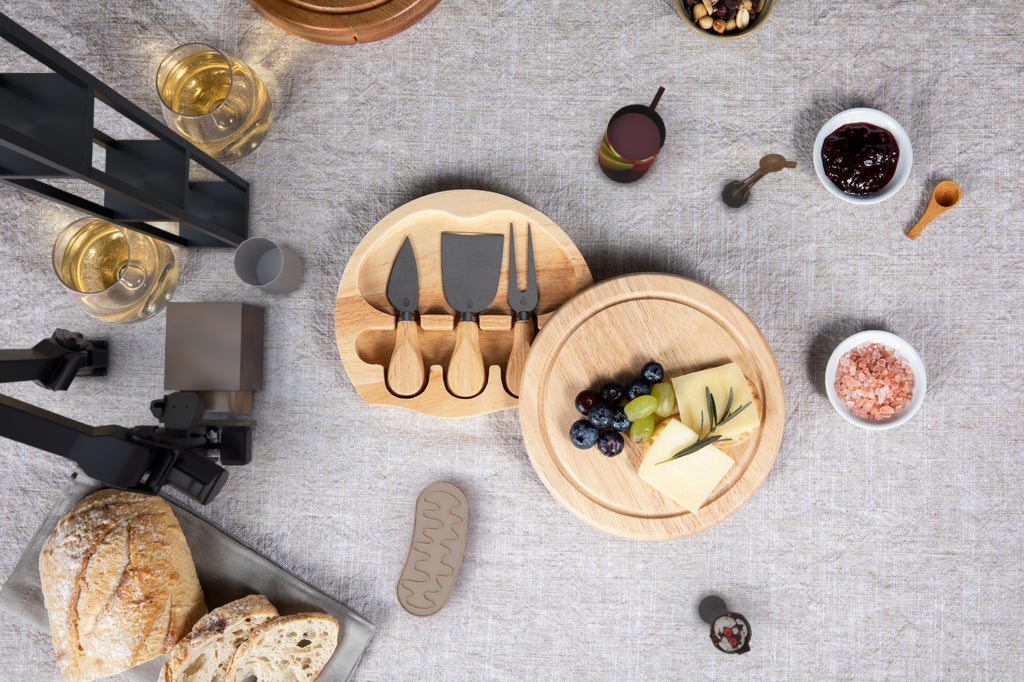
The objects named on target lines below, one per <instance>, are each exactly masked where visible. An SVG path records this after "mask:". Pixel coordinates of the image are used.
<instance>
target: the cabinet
mask: <svg viewBox="0 0 1024 682" xmlns="http://www.w3.org/2000/svg"><path fill="white" fill-rule="evenodd" d="M165 307H166V311H165V341H164V342H165V343H164V348H165V349H164V372H163V374H164V375H163V376H164V377H163V391H175V390H185V391H246V390H252V391H259V390H263V384H264V383H263V382H264V380H263V379H264V344H265V343H264V341H265V340H264V339H265V307H263V306H258V305H254V304H250V303H246V302H242V301H241V302H240V301H239V302H238V301H237V302H236V301H235V302H233V301H232V302H231V301H227V302H226V301H221V302H219V301H166V305H165Z"/></svg>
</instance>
